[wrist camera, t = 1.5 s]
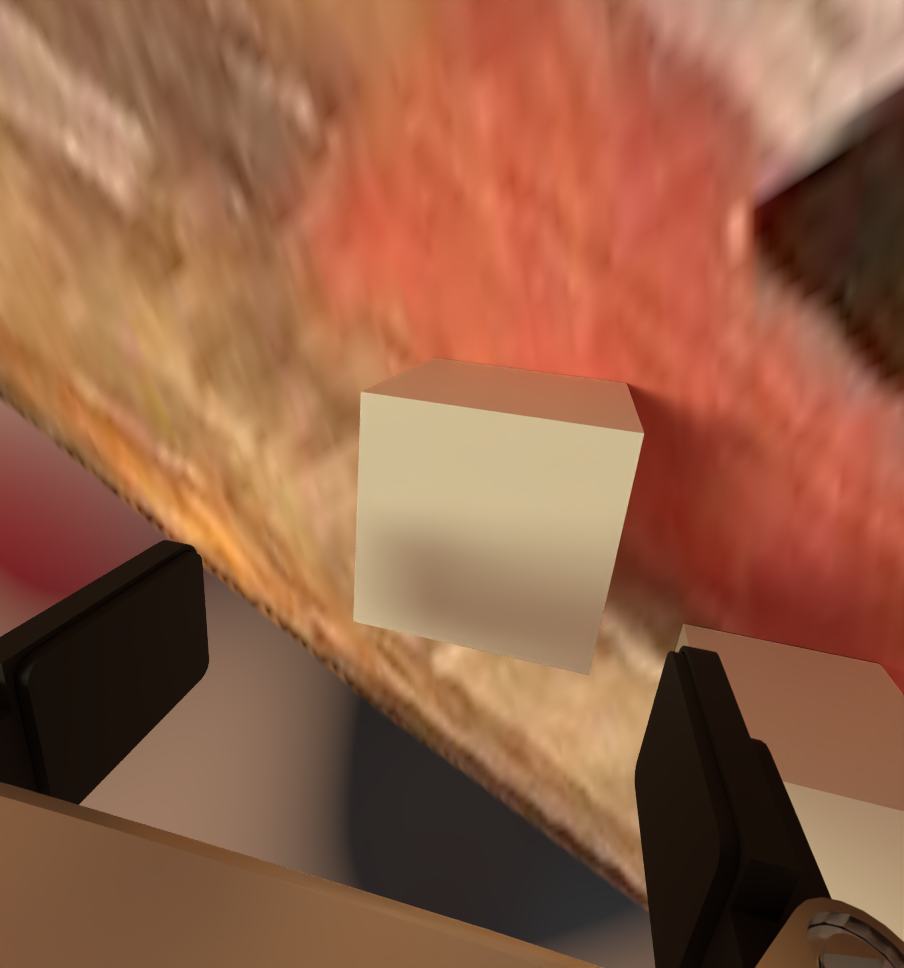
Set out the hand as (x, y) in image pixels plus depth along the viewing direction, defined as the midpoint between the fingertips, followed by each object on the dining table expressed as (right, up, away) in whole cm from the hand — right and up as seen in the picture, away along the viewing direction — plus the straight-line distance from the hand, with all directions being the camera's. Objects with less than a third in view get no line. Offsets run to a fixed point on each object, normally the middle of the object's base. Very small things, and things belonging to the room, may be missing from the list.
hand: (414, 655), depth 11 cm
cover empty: (+13, -6, +12) cm, 18 cm away
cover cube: (+3, +4, +10) cm, 12 cm away
